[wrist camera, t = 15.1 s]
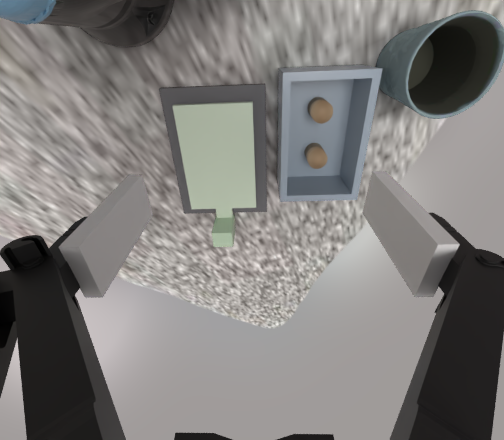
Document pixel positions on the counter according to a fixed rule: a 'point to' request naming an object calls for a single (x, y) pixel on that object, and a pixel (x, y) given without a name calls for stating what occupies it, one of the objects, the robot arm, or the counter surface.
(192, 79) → the counter surface
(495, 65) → the teal cup
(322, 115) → the dowel
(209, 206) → the lid
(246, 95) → the mat
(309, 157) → the dowel
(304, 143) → the tub
